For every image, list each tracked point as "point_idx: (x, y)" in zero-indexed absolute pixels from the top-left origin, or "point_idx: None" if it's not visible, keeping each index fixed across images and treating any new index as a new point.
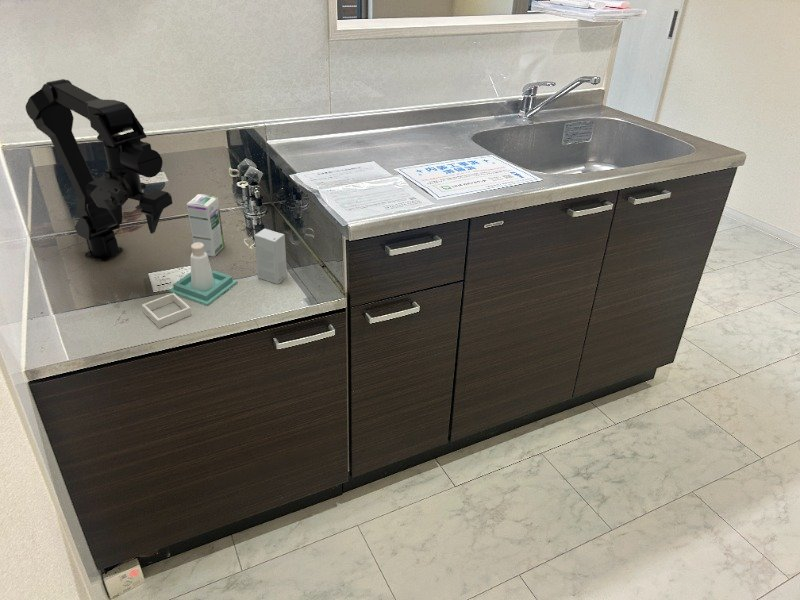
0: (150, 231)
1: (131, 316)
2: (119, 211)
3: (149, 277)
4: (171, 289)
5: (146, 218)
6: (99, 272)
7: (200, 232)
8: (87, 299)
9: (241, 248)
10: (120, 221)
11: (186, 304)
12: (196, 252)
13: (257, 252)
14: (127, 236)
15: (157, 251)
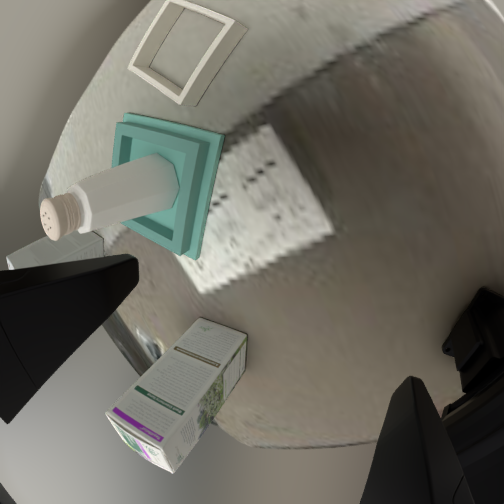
0: (119, 259)
1: (270, 4)
2: (379, 483)
3: (320, 206)
4: (215, 140)
5: (12, 290)
6: (485, 223)
7: (187, 368)
8: (450, 57)
9: (172, 342)
10: (396, 404)
11: (136, 73)
12: (58, 196)
13: (53, 260)
14: (435, 399)
15: (348, 347)
